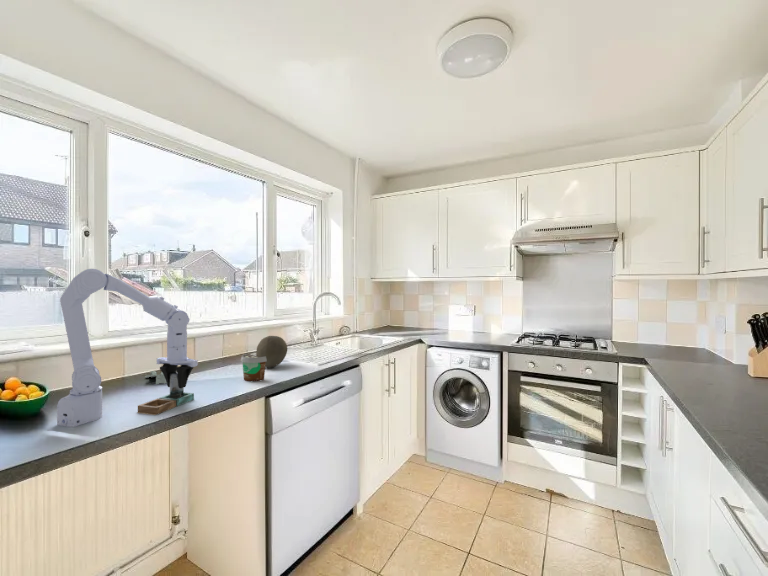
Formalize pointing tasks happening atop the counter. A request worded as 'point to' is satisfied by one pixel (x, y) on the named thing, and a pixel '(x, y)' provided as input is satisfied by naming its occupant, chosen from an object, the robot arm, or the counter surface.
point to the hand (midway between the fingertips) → (176, 386)
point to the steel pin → (175, 386)
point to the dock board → (163, 404)
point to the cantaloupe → (272, 350)
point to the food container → (253, 367)
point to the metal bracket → (161, 377)
